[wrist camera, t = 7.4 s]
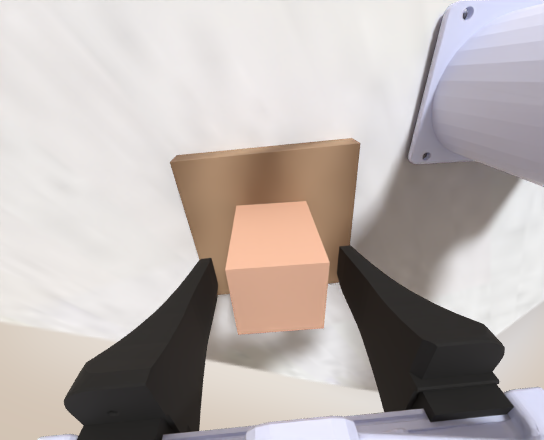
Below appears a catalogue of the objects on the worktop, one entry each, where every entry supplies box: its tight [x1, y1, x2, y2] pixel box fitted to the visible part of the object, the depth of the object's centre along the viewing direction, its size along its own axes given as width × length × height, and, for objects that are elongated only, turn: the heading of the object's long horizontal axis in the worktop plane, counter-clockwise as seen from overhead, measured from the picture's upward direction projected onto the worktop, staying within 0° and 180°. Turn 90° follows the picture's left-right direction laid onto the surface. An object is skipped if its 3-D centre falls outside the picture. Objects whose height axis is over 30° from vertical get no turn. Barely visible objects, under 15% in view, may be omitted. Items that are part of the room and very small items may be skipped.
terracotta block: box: [225, 201, 330, 335], centre depth 14 cm, size 4×4×6 cm
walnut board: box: [170, 138, 360, 295], centre depth 18 cm, size 11×11×2 cm
